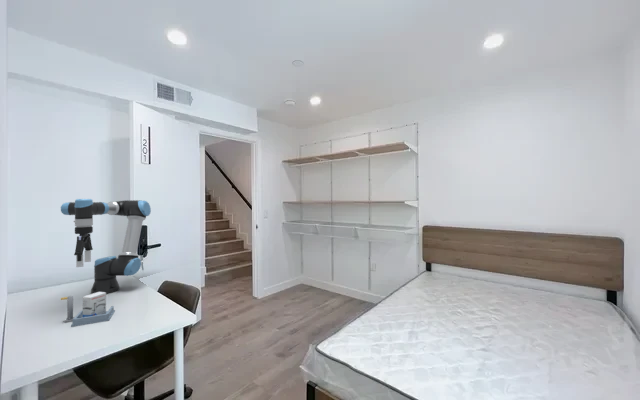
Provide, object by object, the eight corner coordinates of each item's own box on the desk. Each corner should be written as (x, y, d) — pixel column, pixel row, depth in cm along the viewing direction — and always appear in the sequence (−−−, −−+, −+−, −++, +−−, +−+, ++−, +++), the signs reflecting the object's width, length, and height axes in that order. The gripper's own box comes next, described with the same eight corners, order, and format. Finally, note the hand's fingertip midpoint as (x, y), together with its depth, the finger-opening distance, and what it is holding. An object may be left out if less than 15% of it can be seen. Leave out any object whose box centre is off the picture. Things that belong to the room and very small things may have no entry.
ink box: (89, 320, 135) (89, 297, 135) (82, 319, 136) (82, 296, 136) (106, 313, 143) (106, 291, 143) (99, 312, 144) (99, 291, 145)
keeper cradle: (63, 319, 138) (63, 295, 139) (114, 311, 148) (114, 289, 149) (52, 330, 127) (52, 304, 127) (109, 320, 137) (109, 296, 137)
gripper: (82, 224, 157) (82, 260, 157) (66, 228, 135) (66, 270, 135) (98, 224, 161) (98, 259, 161) (85, 228, 139) (85, 268, 139)
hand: (84, 264), depth 148 cm, fingers open, 13 cm apart
